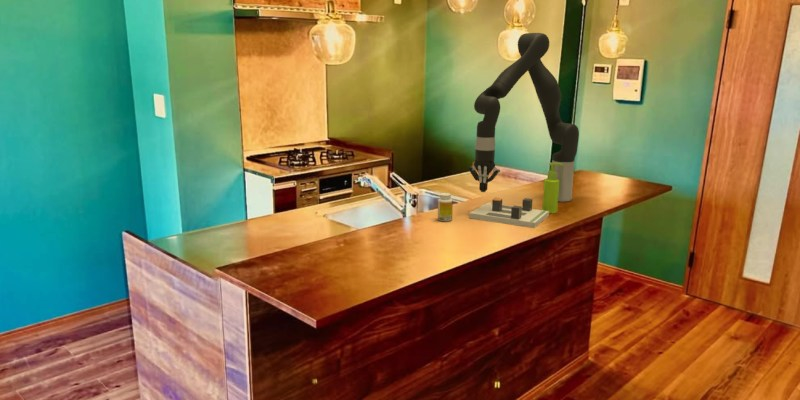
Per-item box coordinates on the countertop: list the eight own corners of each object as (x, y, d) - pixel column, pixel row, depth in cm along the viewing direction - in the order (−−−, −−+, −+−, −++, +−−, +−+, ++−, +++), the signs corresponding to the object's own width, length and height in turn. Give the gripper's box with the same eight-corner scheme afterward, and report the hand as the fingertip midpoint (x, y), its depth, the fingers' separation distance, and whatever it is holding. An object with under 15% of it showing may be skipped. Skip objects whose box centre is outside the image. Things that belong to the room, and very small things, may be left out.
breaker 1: (513, 215, 213) (514, 205, 212) (521, 216, 211) (521, 206, 210) (510, 217, 210) (511, 207, 209) (518, 218, 209) (519, 208, 208)
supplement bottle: (454, 221, 214) (455, 195, 211) (441, 222, 212) (441, 196, 209) (448, 217, 219) (449, 191, 216) (435, 218, 217) (435, 193, 215)
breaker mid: (494, 208, 223) (495, 197, 222) (501, 209, 221) (502, 198, 220) (492, 210, 220) (492, 199, 219) (499, 211, 219) (499, 200, 218)
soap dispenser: (560, 214, 223) (563, 164, 218) (542, 213, 224) (545, 164, 219) (559, 210, 229) (562, 161, 224) (541, 209, 230) (544, 161, 225)
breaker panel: (486, 207, 233) (486, 202, 232) (548, 216, 220) (548, 210, 220) (469, 217, 218) (469, 212, 217) (534, 227, 205) (534, 222, 205)
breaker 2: (524, 207, 223) (525, 198, 222) (531, 208, 222) (532, 199, 221) (522, 209, 221) (522, 199, 220) (529, 210, 219) (530, 200, 218)
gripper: (504, 148, 218) (502, 191, 222) (473, 145, 224) (471, 187, 228) (497, 151, 211) (495, 195, 216) (465, 148, 218) (463, 191, 222)
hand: (483, 191), depth 222 cm, fingers closed
